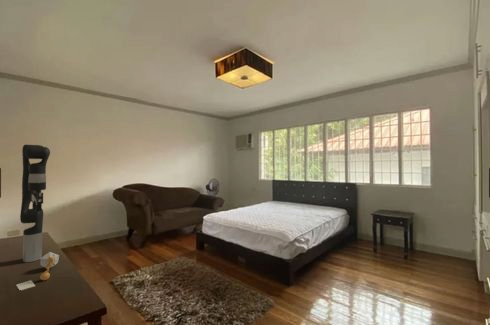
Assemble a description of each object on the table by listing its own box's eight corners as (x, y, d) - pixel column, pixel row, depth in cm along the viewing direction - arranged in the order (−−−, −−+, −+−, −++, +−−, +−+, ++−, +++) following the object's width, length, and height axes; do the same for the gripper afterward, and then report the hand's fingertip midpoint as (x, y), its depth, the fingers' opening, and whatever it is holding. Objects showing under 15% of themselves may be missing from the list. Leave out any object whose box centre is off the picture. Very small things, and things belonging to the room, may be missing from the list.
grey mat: (16, 285, 121) (16, 284, 121) (31, 280, 126) (31, 280, 126) (19, 290, 115) (19, 290, 115) (35, 286, 120) (35, 285, 120)
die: (48, 272, 136) (48, 254, 136) (35, 271, 137) (36, 253, 138) (62, 266, 144) (62, 249, 144) (50, 265, 146) (50, 248, 146)
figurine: (37, 279, 127) (38, 256, 128) (51, 275, 132) (52, 253, 133) (42, 283, 123) (43, 260, 123) (56, 279, 127) (57, 256, 128)
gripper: (25, 181, 135) (25, 209, 135) (31, 182, 126) (31, 212, 126) (42, 180, 141) (42, 208, 141) (49, 181, 132) (48, 210, 132)
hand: (36, 210), depth 133 cm, fingers open, 8 cm apart
